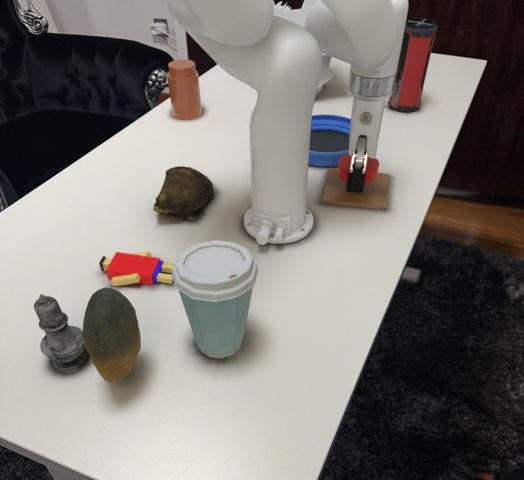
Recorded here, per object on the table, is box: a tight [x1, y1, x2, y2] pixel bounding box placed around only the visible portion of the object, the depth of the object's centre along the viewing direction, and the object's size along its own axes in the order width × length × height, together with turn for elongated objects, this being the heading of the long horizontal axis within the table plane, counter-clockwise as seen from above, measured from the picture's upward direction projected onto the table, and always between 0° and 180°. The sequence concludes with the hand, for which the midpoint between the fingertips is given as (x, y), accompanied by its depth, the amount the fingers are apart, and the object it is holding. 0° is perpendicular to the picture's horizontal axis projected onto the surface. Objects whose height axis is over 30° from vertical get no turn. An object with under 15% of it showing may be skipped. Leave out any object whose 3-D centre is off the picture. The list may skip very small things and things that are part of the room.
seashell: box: [152, 165, 215, 221], centre depth 92 cm, size 16×9×7 cm, turn 161°
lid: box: [337, 153, 380, 184], centre depth 93 cm, size 8×8×2 cm
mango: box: [82, 286, 142, 384], centre depth 61 cm, size 10×6×15 cm, turn 170°
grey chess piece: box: [33, 293, 91, 374], centre depth 64 cm, size 6×6×12 cm
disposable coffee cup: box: [171, 239, 259, 359], centre depth 65 cm, size 11×11×15 cm
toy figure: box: [98, 250, 174, 287], centre depth 80 cm, size 2×7×12 cm
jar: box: [166, 58, 203, 120], centre depth 117 cm, size 7×7×11 cm
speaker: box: [388, 17, 438, 113], centre depth 115 cm, size 8×8×18 cm
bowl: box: [308, 113, 351, 167], centre depth 107 cm, size 18×18×4 cm
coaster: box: [321, 168, 389, 211], centre depth 97 cm, size 12×12×1 cm
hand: (355, 179), depth 95 cm, fingers closed on lid, 7 cm apart
